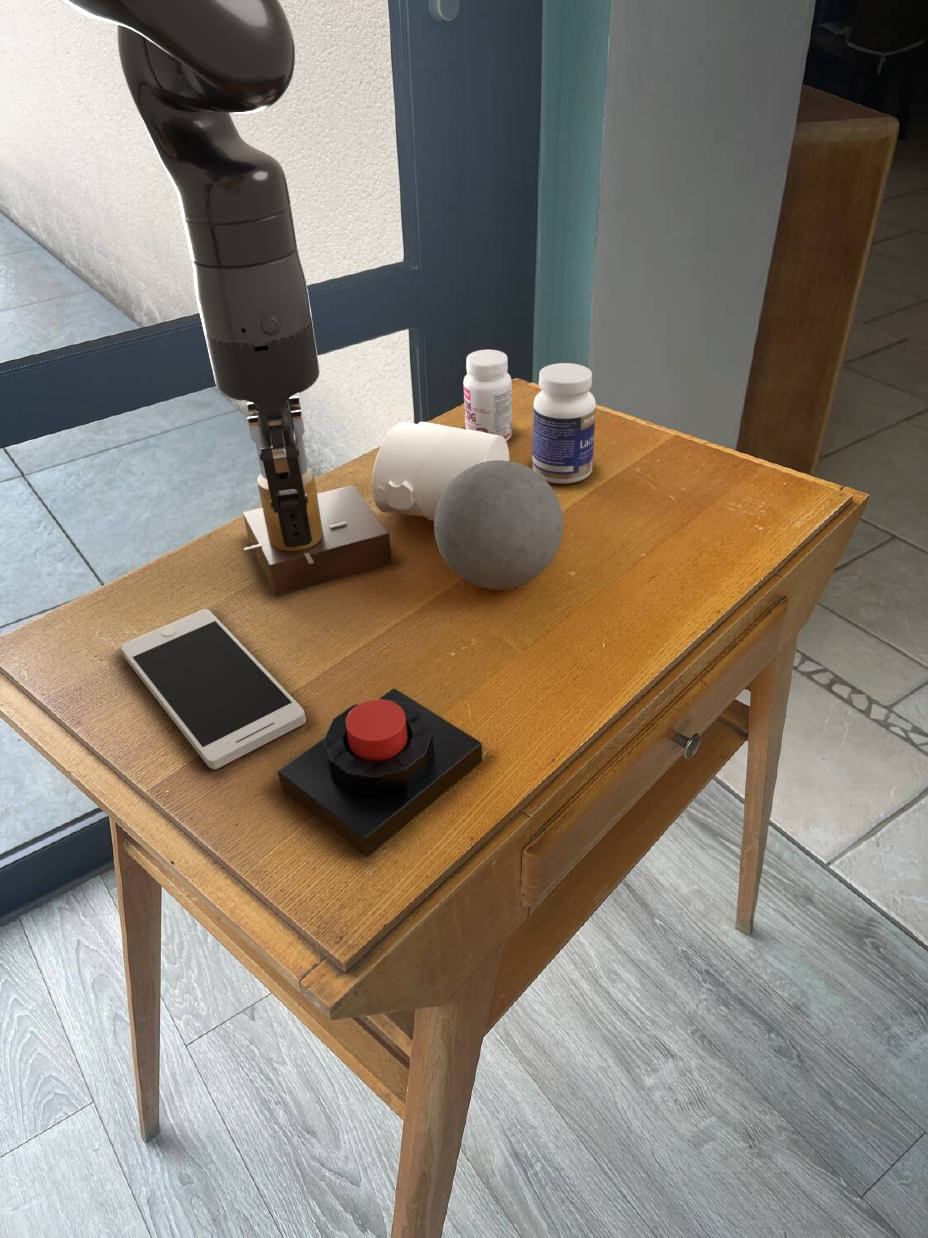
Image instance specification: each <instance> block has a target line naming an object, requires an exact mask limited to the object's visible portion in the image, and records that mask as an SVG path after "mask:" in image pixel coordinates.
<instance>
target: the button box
mask: <svg viewBox="0 0 928 1238" xmlns="http://www.w3.org/2000/svg"><path fill="white" fill-rule="evenodd" d="M378 699H382V700H388V701H392V702H394V703H396V704H397V705H399V706H400V707H401V708H402V709H403V711H404V713H405V717H406V727H407V737H408V738H407V743H406V745H405V747H404V748H403V750H402V751H401V752H400V753H398V754H397V755H395V756H394V757H392V758H389V759H386V760H381V761H369V760H365V759H362V758H359V757H358V756H356V755H355V754H354V753H353V752H352V750H351V749H350V746H349V741H348V735H347V729H346V718H347V716H348V714H349V712H350V711H351V710H352V709H353V708H354V707H356V706H357V705H359V704H361V703H362V702H361V703H356V704H353V705H351V706H350V707H349V708H347V709H345V710H344V711H343V712H341V713H339V714H338V715H337V716H335V717H334V718H333V719H332V720H331V722H330V724H329V727H328V728H327V731H326V732H325V735H324V736H323V738H322V739H320V740H319V741H317V742H316V743H314V744H313V745H311V746H310V747H309V748H308V749H306V750H305V751H303V752H302V753H300V754H299V755H297V756H296V757H295V758H294V759H292V760H291V761H290V762H287V763H286V764H285V765H283V766H282V767H281V768H279V769H278V770H277V776H278V779H279V785H280V788H281V790H282V791H283V792H285V793H286V794H287V795H288V796H289V797H290V798H292V799H293V800H295V801H296V802H297V803H298V804H300V805H301V806H302V807H304V808H305V809H306V810H307V811H308V812H310V813H311V814H312V815H313V816H315V817H316V818H318V819H319V820H320V821H321V822H322V823H324V824H325V825H326V826H327V827H328V828H330V829H332V830H333V832H335V833H336V834H338V835H339V836H340V837H342V838H343V839H344V840H345V841H347V842H348V843H349V844H350V845H351V846H353V847H354V848H355V849H357V850H358V851H359V852H361V853H362V855H364V856H365V857H368V858H369V857H370V856H371V855H372V854H373V853H375V852H376V851H377V850H378V849H379V848H380V847H382V846H383V845H384V844H385V843H387V842H388V841H389V840H390V839H392V838H393V837H394V836H395V835H396V834H398V833H399V832H400V831H402V829H403V828H405V827H406V826H407V825H408V824H409V823H411V822H412V821H413V820H414V819H415V818H416V817H418V816H419V815H420V814H421V813H423V812H424V811H425V810H426V809H427V808H428V807H430V806H431V805H432V804H433V803H434V802H435V801H436V800H438V799H439V798H441V797H442V796H443V795H444V794H445V793H447V792H448V791H450V789H451V788H453V786H455V785H456V784H457V783H459V781H461V780H462V779H463V778H464V777H466V775H468V774H469V773H470V772H471V771H473V770H474V769H475V768H476V767H478V766H479V765H480V764H481V763H482V762H483V745H482V742H481V741H479V740H478V739H476V738H475V737H473V736H471V735H470V734H468V733H467V732H465V731H464V730H462V729H461V728H459V727H457V726H456V725H454V724H452V723H451V722H449V721H448V720H446V719H444V718H443V717H441V716H439V715H438V714H437V713H435V712H433V711H432V710H430V709H428V708H427V707H425V706H424V705H422V704H420V703H419V702H417V701H416V700H414V699H413V698H411V697H409V696H407V694H404V693H403V692H401V691H399V690H398V689H396V688H395V687H394V688H392V689H390V690H389V691H387V692H386V693H384V694H383V695H382V696H380V697H379V698H378Z"/></svg>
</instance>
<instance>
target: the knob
mask: <svg viewBox="0 0 928 1238" xmlns="http://www.w3.org/2000/svg"><path fill="white" fill-rule="evenodd" d="M302 478H303V484H304V490H305V492H307V496H308V503H307V514H308V519H309V525H310V531H311V537H312V541H311V543H310V544H308V545H303V546H296V547H286V546H285V545H284V542H283V537H282V532H281V527H280V522H279V517H278V513H274V509H273V508H271V502H272V501H271V496H270V491H269V487H268V482H267V479H265V478H264V477H263V476H262V474H261V473H260V474H259V475H258V477H257V481H256V484H257V488H258V493H259V498H260V503H261V508H263V513H264V518H265V523H266V529H267V534H268V539H269V542H270V544H271V545H272V546H273V547H275V548H276V549H279V550H283V551H299V550H303V549H307V548H309V547H312V546H313V545H315V544H317V543H318V542H319V541H320V540H321V538H322V536H323V529H322V523H321V517H320V510H319V504H318V497H317V494H318V491H317V486H316V485H317V484H316V479H315V473H314V471H313V470H312V469H311V468H310V467H309V466H307V471H306V473H304V474H303V476H302ZM289 490H292V489H289ZM282 491H285V490H282ZM278 492H279V491H278Z"/></svg>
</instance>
